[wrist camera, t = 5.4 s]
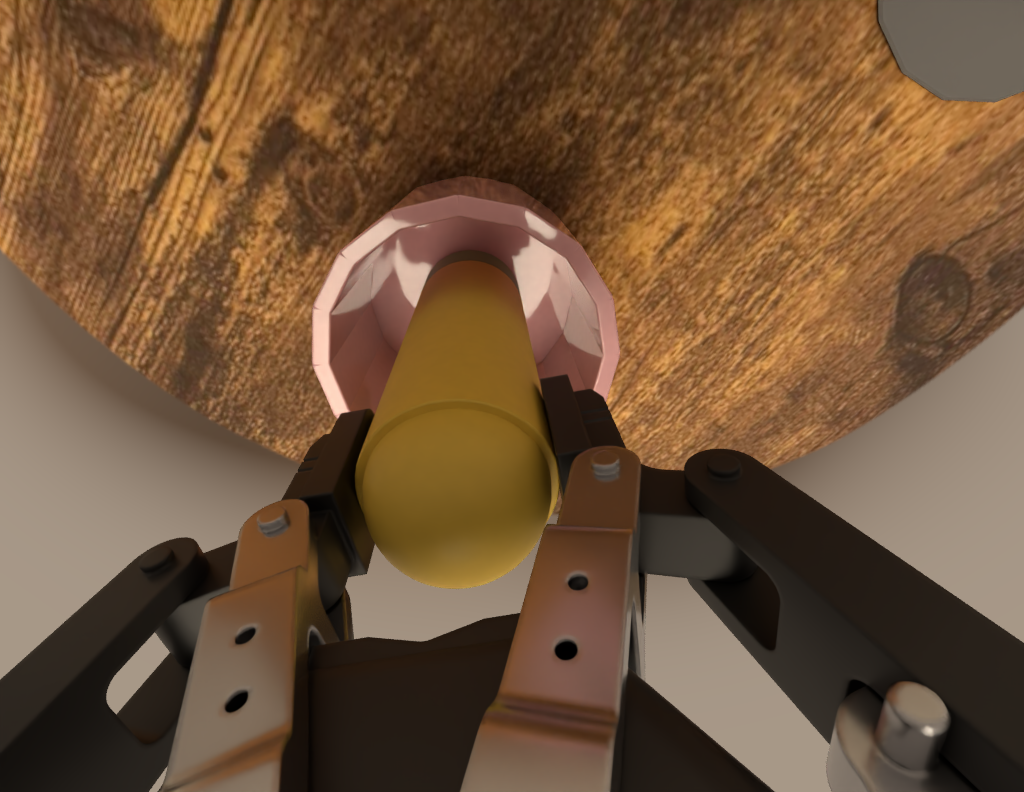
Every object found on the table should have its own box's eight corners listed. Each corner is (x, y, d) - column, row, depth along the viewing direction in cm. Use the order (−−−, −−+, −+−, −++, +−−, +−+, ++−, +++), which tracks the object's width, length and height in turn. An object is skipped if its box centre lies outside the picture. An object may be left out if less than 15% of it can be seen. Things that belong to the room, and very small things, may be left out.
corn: (418, 335, 24) (326, 631, 10) (428, 241, 22) (331, 441, 8) (510, 349, 25) (546, 647, 10) (528, 258, 23) (601, 473, 9)
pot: (356, 377, 26) (310, 465, 19) (366, 155, 21) (311, 167, 14) (555, 404, 27) (578, 496, 20) (605, 200, 22) (657, 231, 16)
